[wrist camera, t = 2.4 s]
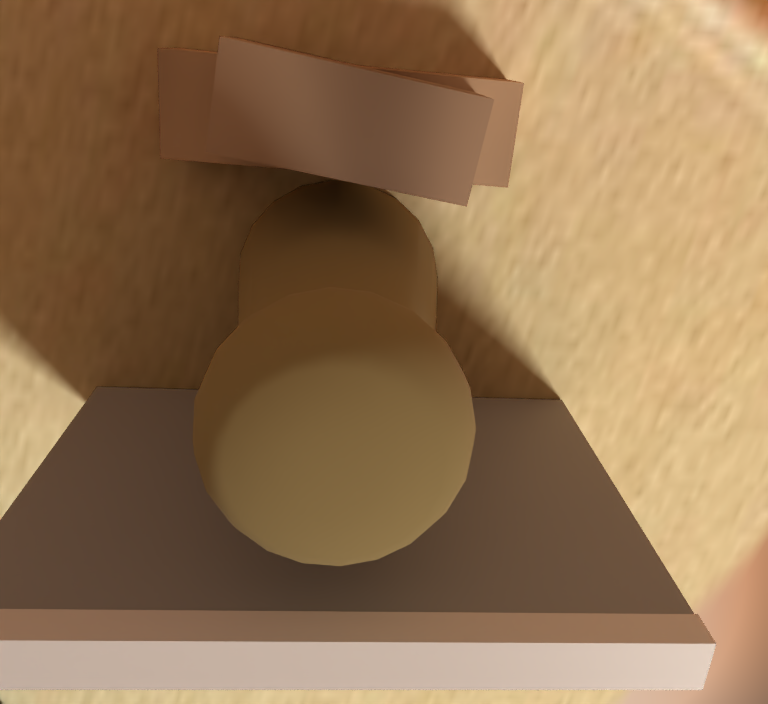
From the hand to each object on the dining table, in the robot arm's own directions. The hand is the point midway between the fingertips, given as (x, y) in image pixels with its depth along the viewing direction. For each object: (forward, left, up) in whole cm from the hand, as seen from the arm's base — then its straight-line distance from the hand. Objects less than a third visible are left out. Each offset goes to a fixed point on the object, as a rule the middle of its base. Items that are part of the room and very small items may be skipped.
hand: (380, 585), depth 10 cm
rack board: (-1, -4, -13) cm, 14 cm away
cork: (-1, +1, -13) cm, 13 cm away
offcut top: (+1, +5, -11) cm, 12 cm away
